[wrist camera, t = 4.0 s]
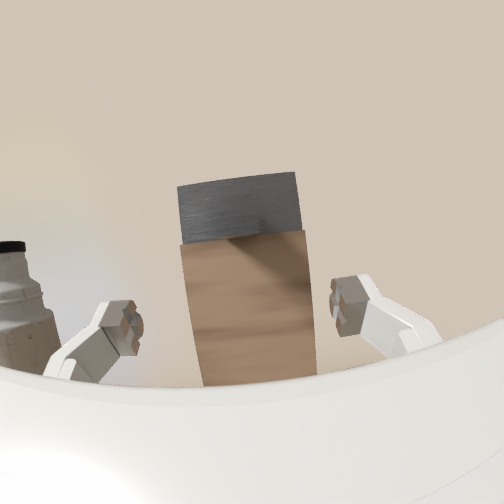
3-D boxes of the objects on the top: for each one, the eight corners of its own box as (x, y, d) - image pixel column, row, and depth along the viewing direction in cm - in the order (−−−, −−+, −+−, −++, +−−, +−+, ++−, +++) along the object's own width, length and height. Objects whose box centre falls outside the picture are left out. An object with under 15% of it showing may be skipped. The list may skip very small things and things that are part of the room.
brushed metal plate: (332, 224, 14) (318, 132, 14) (141, 247, 14) (135, 157, 14) (295, 231, 27) (288, 181, 27) (193, 244, 27) (187, 194, 27)
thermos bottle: (94, 481, 20) (15, 247, 19) (148, 502, 18) (61, 234, 17) (60, 516, 12) (-52, 252, 11) (116, 547, 10) (-26, 236, 9)
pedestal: (318, 469, 23) (304, 229, 22) (228, 479, 23) (179, 245, 22) (309, 439, 29) (293, 232, 28) (231, 447, 29) (195, 244, 28)
